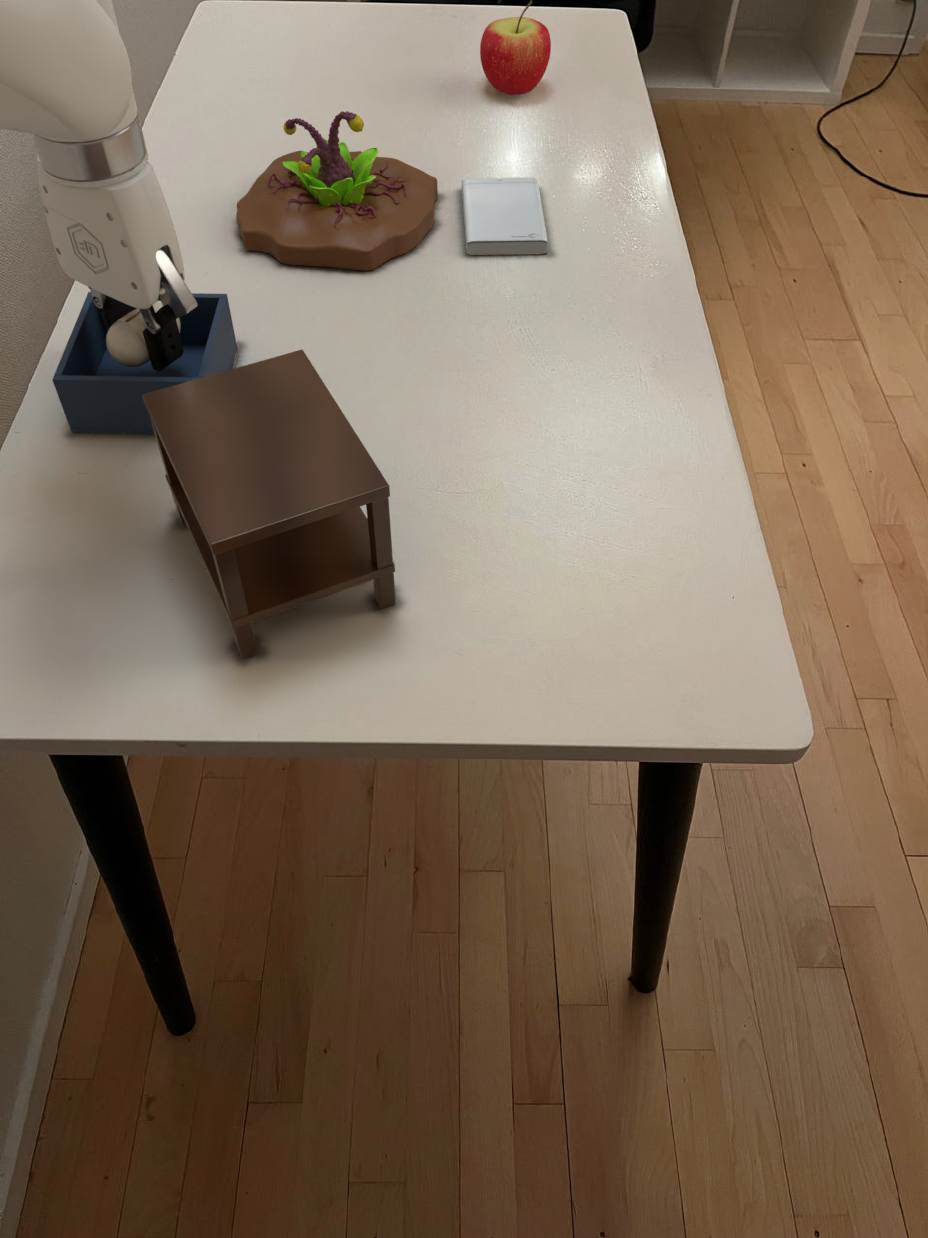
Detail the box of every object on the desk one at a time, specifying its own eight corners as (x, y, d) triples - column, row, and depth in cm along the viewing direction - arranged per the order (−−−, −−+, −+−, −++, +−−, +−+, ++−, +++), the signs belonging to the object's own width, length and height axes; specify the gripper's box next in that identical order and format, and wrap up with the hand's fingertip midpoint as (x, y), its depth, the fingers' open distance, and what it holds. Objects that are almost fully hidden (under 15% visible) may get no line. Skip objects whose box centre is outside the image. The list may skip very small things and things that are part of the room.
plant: (394, 287, 103) (388, 177, 94) (213, 250, 107) (191, 142, 98) (459, 186, 115) (460, 81, 106) (294, 157, 119) (282, 52, 110)
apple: (556, 101, 128) (563, 12, 120) (488, 108, 126) (490, 19, 119) (538, 71, 133) (543, -16, 125) (472, 78, 131) (473, -10, 124)
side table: (241, 661, 74) (210, 544, 65) (176, 515, 83) (141, 394, 74) (397, 604, 78) (389, 485, 68) (318, 469, 87) (302, 348, 77)
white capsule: (136, 382, 88) (124, 342, 85) (102, 365, 89) (89, 325, 86) (194, 340, 92) (185, 300, 88) (161, 324, 93) (150, 284, 90)
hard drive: (548, 239, 106) (537, 175, 113) (466, 241, 105) (461, 176, 113) (547, 254, 107) (536, 190, 115) (466, 256, 107) (461, 191, 114)
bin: (215, 435, 89) (203, 381, 85) (71, 432, 89) (51, 379, 85) (237, 346, 97) (226, 293, 93) (104, 344, 97) (88, 291, 93)
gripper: (-29, 131, 77) (47, 340, 91) (137, 200, 71) (190, 412, 86) (49, 92, 81) (110, 298, 95) (213, 154, 75) (252, 364, 89)
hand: (148, 350), depth 90 cm, fingers closed on white capsule, 4 cm apart
